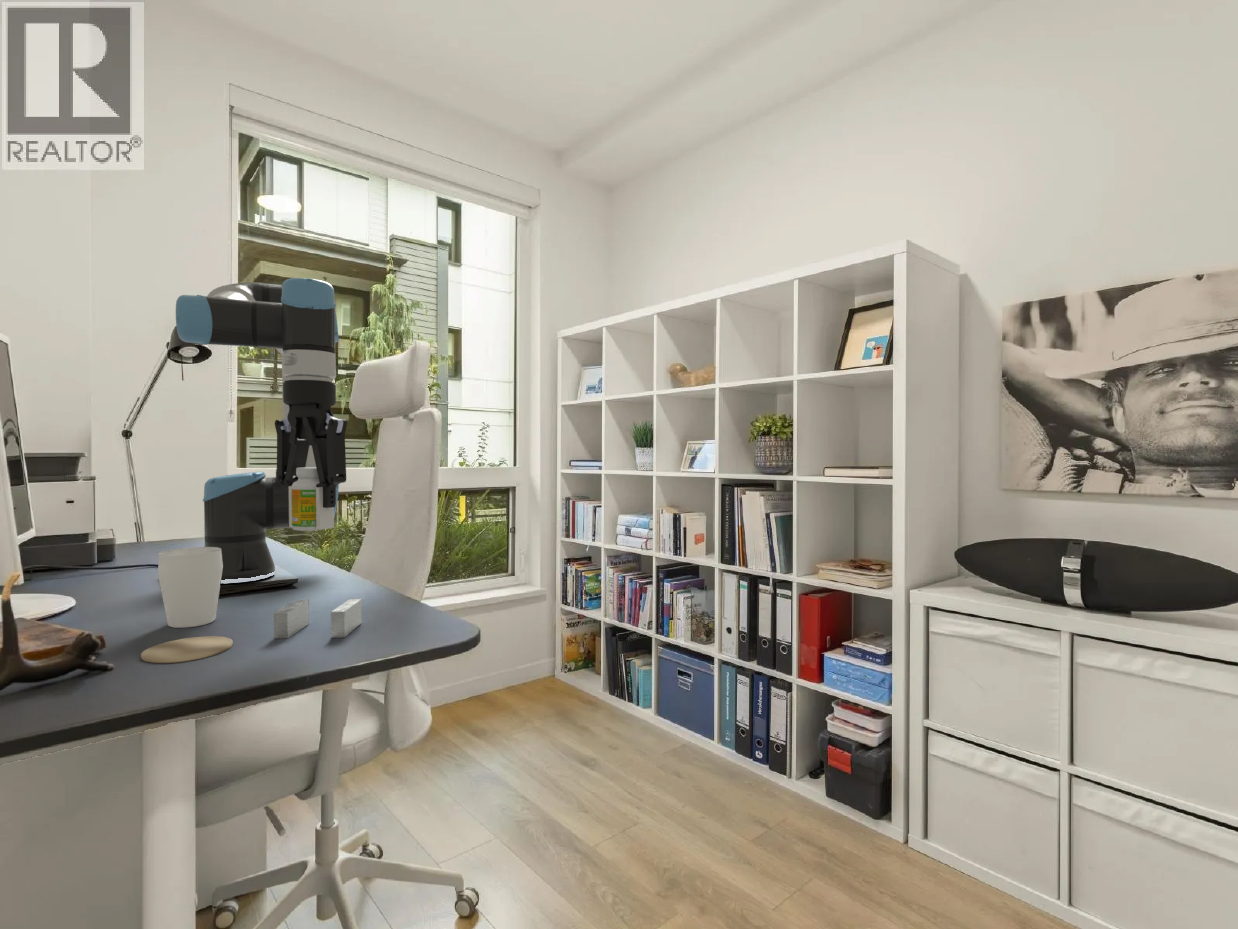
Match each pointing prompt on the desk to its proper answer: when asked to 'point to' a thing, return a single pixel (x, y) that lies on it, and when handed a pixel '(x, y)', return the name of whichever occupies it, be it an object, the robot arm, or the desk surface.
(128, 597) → the desk surface
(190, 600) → the cup
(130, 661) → the desk surface
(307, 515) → the supplement bottle
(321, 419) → the robot arm
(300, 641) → the desk surface
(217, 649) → the coaster
